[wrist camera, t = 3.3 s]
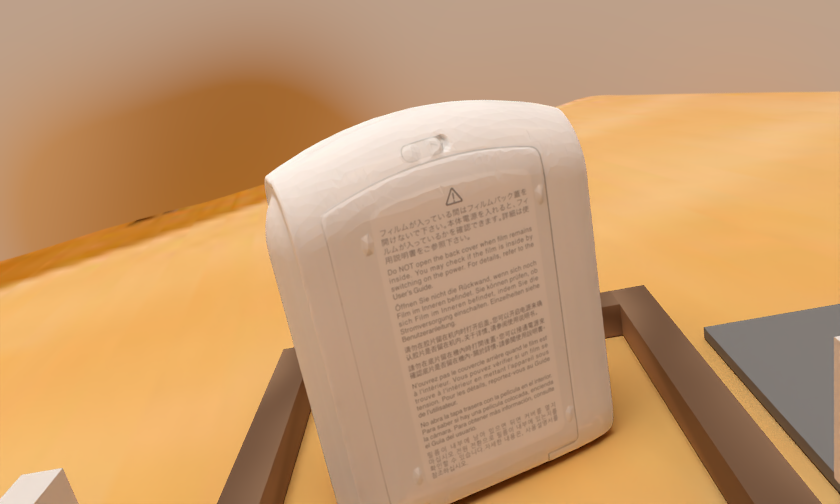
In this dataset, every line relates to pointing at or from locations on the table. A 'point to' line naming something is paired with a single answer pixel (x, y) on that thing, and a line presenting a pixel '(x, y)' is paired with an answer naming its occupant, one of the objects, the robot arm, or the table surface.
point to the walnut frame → (622, 315)
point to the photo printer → (442, 297)
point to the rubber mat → (789, 373)
